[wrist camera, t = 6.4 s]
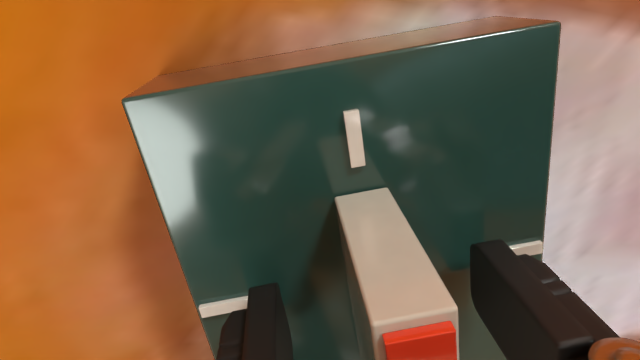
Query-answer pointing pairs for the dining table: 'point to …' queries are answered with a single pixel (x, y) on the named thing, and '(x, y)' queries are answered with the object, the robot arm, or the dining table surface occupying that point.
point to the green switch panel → (351, 165)
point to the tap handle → (393, 283)
